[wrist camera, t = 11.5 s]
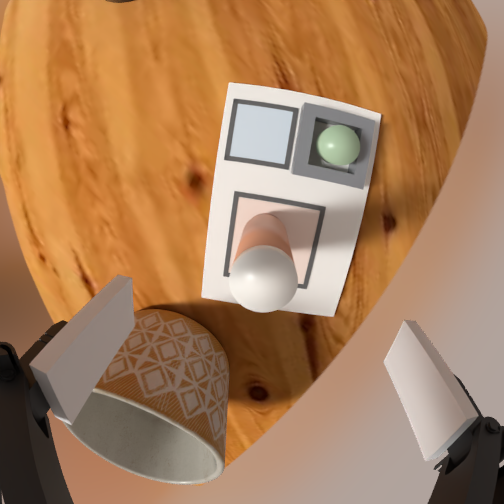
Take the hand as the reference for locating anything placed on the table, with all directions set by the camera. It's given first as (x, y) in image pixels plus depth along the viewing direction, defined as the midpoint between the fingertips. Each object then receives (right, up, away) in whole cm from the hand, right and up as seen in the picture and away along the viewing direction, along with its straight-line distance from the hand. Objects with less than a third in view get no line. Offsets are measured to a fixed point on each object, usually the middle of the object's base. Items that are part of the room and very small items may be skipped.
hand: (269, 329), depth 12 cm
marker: (+1, +5, +17) cm, 18 cm away
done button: (+7, +13, +12) cm, 19 cm away
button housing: (+7, +14, +14) cm, 21 cm away
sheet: (+3, +8, +16) cm, 19 cm away
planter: (-12, -11, +24) cm, 30 cm away
